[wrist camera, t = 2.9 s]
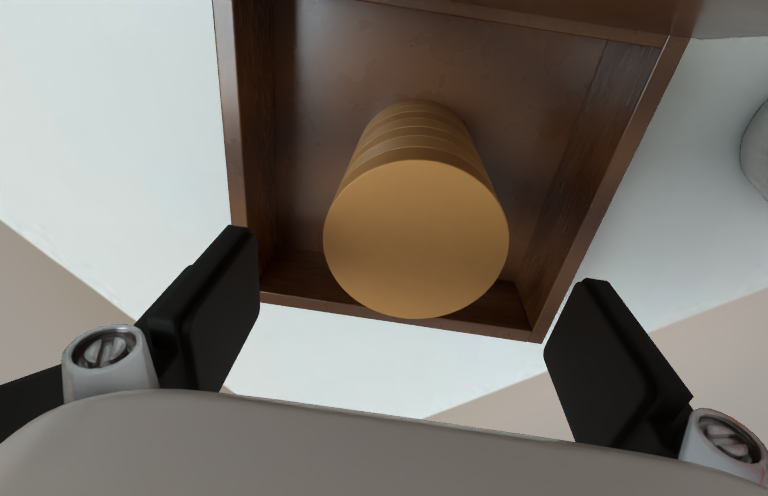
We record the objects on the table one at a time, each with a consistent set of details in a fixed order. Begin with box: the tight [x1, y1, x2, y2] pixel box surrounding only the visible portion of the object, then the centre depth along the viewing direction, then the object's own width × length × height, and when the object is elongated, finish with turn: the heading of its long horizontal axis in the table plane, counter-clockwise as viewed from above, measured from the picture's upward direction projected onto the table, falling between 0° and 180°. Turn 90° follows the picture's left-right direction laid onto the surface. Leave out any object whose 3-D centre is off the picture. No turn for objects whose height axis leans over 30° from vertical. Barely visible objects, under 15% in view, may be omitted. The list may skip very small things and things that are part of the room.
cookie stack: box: [323, 100, 509, 319], centre depth 17 cm, size 6×6×9 cm
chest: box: [212, 0, 691, 344], centre depth 19 cm, size 15×17×5 cm
